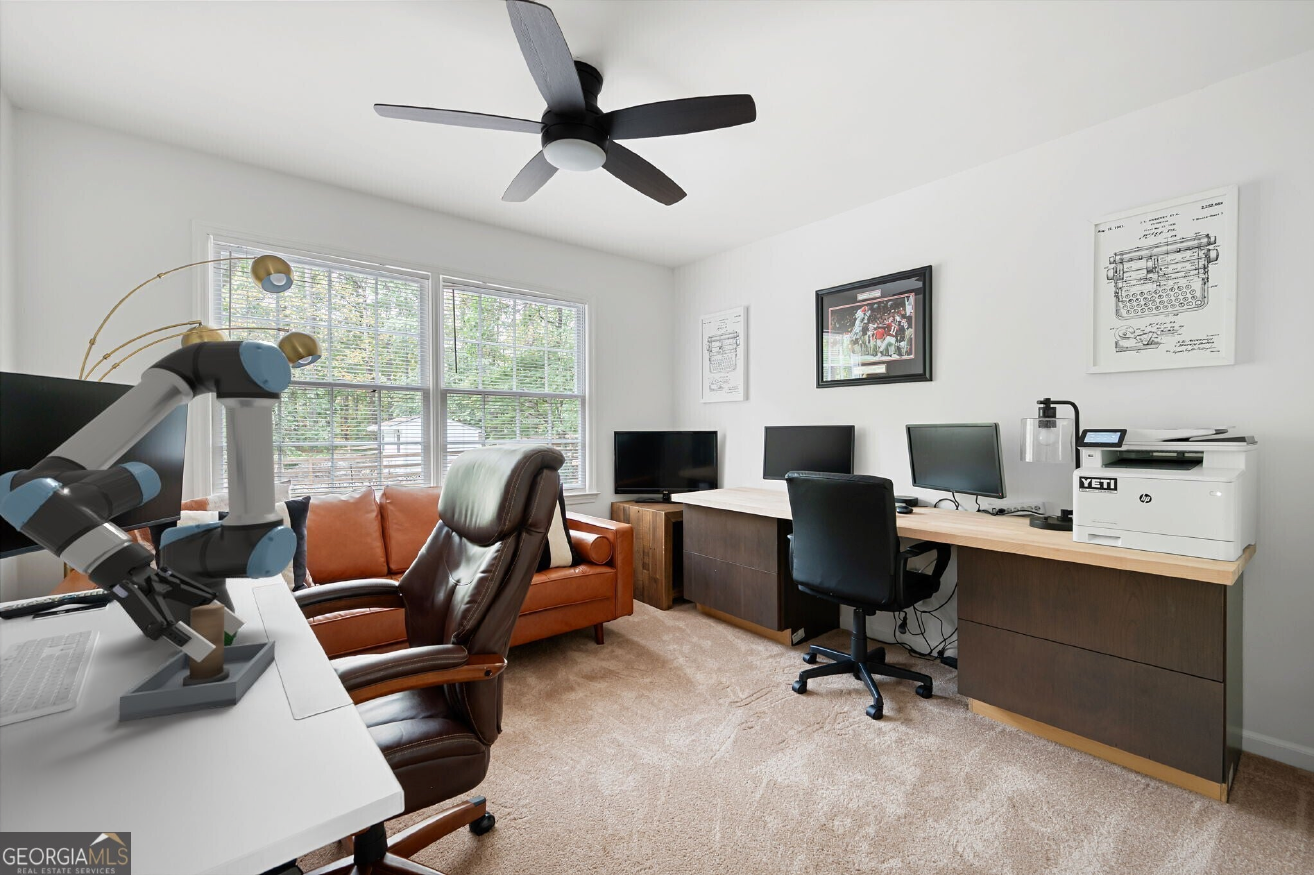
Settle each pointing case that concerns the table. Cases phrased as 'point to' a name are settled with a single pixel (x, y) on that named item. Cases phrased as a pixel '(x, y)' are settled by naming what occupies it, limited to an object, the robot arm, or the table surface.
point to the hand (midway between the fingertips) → (224, 641)
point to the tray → (170, 696)
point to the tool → (212, 629)
